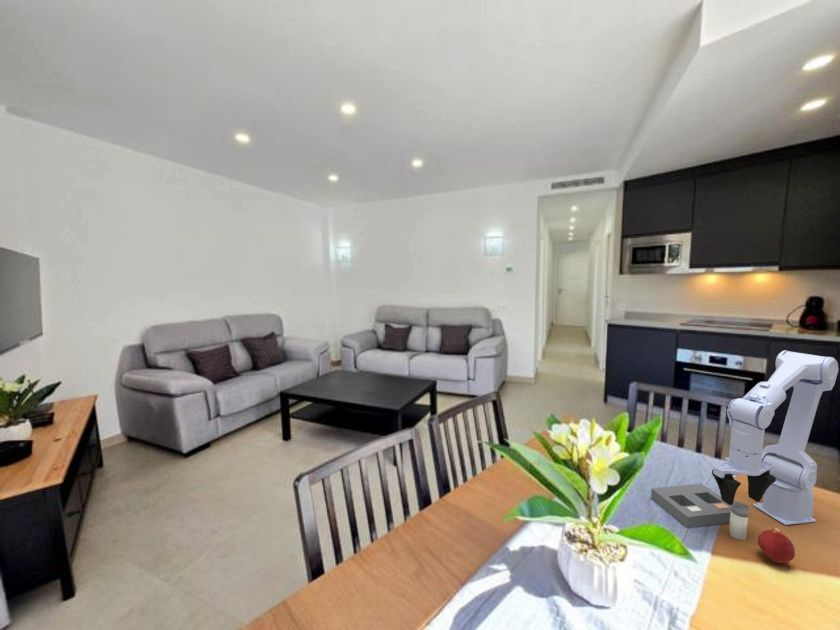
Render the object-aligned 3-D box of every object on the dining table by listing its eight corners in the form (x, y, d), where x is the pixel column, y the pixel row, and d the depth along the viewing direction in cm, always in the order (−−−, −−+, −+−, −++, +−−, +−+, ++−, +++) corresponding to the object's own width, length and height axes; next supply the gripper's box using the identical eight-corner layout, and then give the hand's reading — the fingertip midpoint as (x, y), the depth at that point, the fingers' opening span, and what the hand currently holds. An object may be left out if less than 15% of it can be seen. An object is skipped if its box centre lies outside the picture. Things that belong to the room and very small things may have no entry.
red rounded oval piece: (782, 554, 80) (786, 522, 79) (800, 574, 75) (804, 541, 74) (751, 548, 82) (754, 517, 81) (765, 568, 77) (769, 535, 76)
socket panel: (700, 493, 103) (701, 482, 103) (742, 521, 91) (743, 509, 91) (650, 498, 101) (651, 487, 101) (687, 527, 89) (688, 515, 89)
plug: (736, 529, 88) (739, 500, 87) (749, 539, 85) (752, 509, 84) (725, 531, 88) (728, 501, 87) (738, 540, 85) (741, 510, 84)
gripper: (754, 438, 89) (749, 488, 90) (703, 443, 87) (699, 493, 88) (786, 452, 82) (780, 506, 83) (731, 457, 80) (726, 512, 82)
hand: (740, 500), depth 85 cm, fingers open, 7 cm apart
